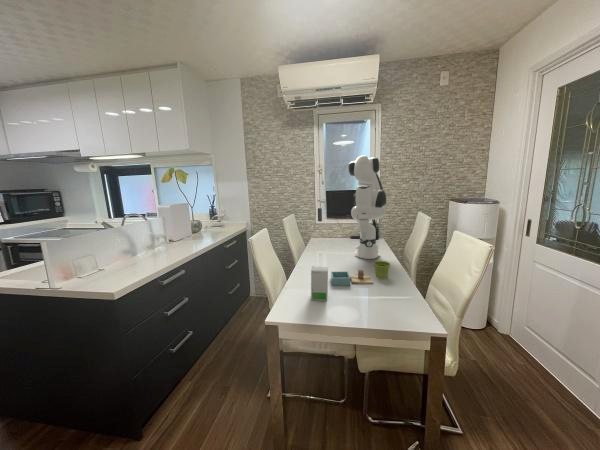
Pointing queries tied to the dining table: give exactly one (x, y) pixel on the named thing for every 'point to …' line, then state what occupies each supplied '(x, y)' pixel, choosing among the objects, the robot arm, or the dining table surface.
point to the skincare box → (319, 283)
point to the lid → (361, 278)
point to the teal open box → (340, 278)
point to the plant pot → (381, 269)
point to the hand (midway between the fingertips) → (363, 238)
